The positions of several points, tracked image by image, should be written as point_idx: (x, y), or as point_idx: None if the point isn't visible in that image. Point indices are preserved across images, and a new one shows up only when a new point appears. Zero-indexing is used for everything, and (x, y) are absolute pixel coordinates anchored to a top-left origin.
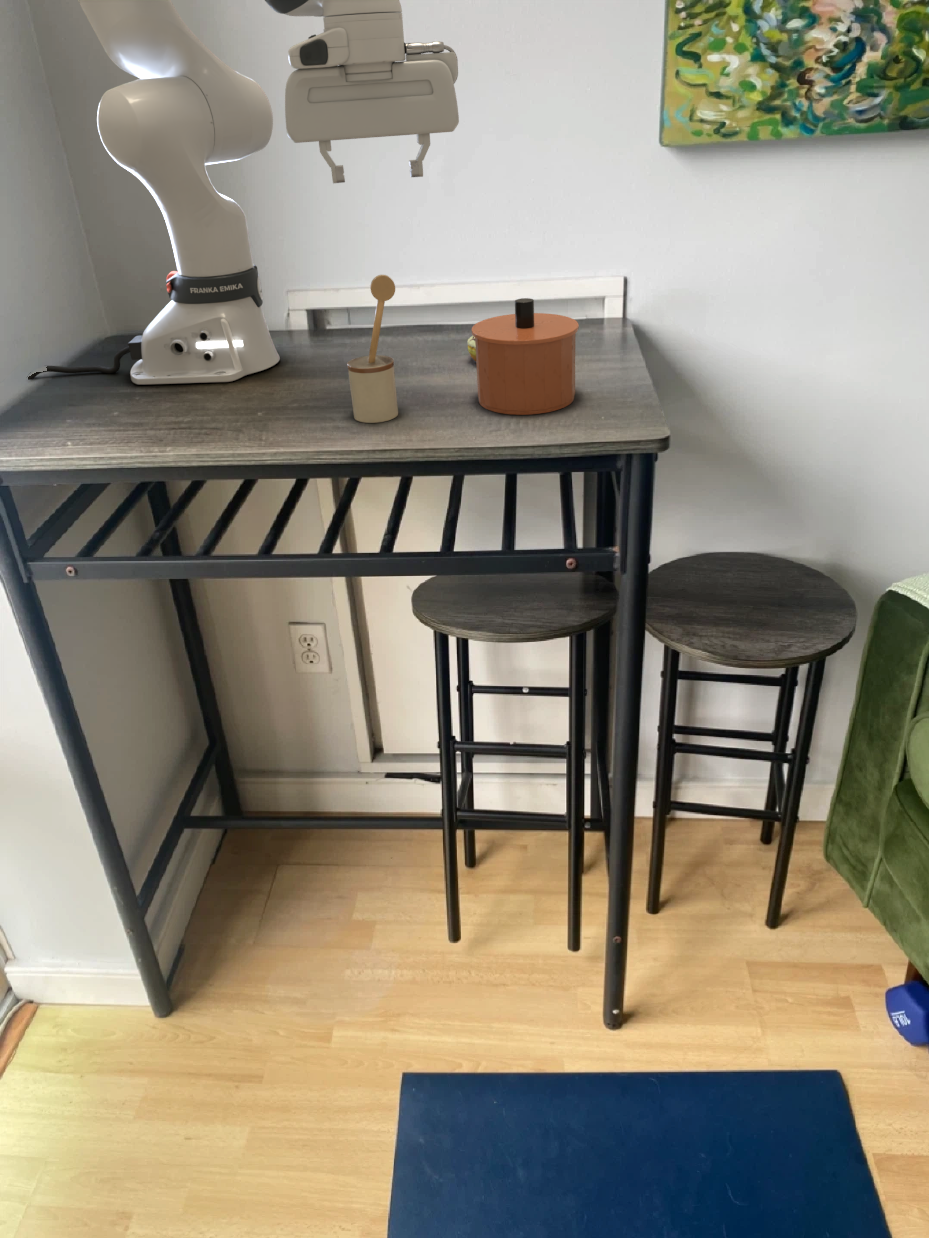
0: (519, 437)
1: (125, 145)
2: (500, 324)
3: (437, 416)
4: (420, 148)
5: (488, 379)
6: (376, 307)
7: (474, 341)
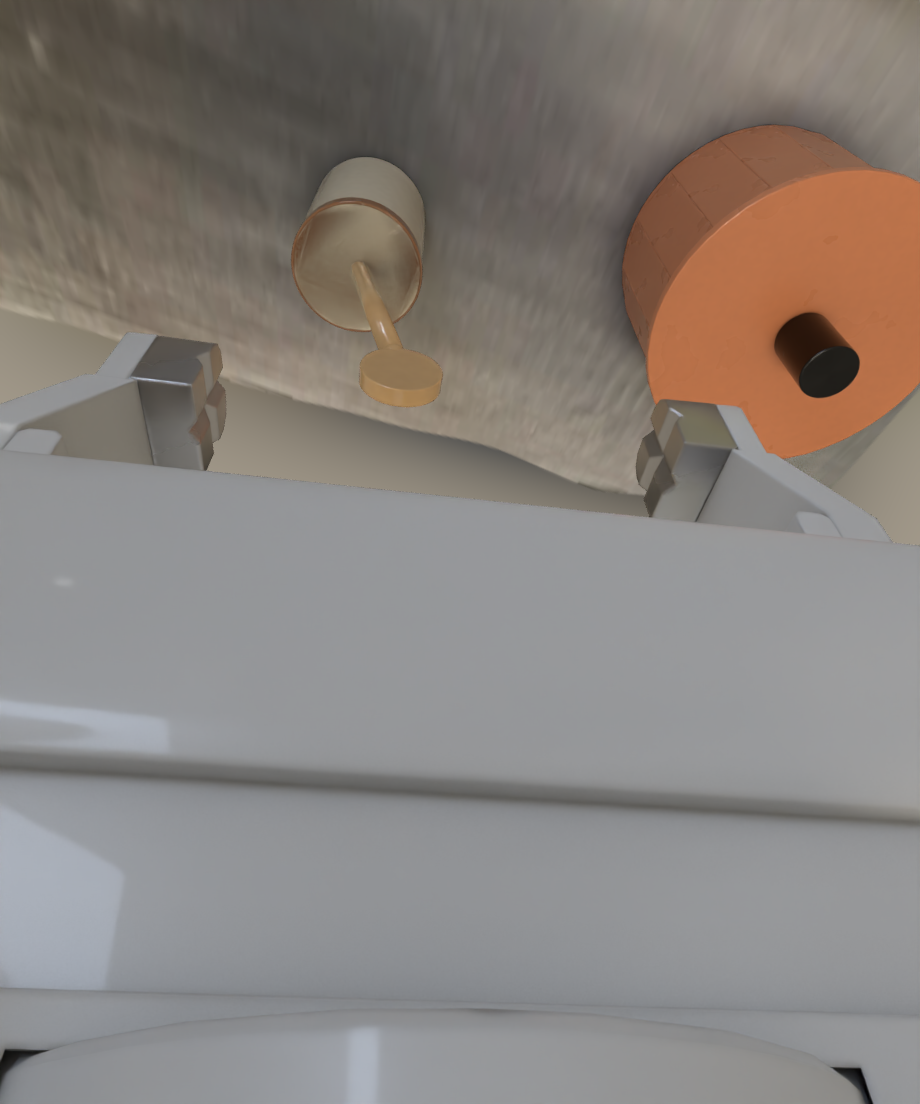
0: (606, 453)
1: None
2: (760, 287)
3: (506, 286)
4: (785, 513)
5: (637, 336)
6: (377, 346)
7: None
